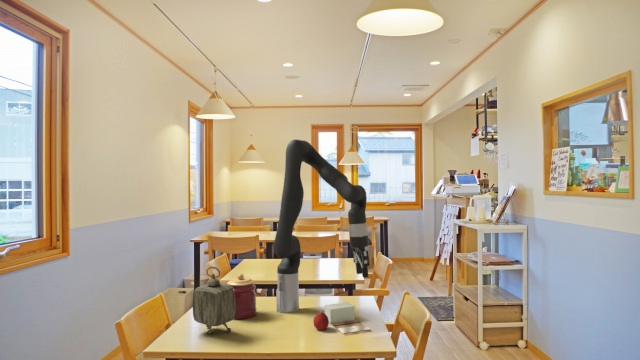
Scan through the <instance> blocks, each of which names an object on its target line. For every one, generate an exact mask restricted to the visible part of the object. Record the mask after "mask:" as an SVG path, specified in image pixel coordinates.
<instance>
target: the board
mask: <svg viewBox="0 0 640 360" xmlns="http://www.w3.org/2000/svg"><path fill="white" fill-rule="evenodd" d="M329 325H331V326H333V327H334V328H336V330H337V331H339V332H340V333H341V334H343V335H344V336H345V337H346V336H352V335H353V336H354V335H358V334H365V333H371V332H373V330H371V328H370V327H369V326H367V325H365V324H363V323H361V322H360V321H359V320H357V319H355V320H350V321H343V322H336V323H329Z"/></svg>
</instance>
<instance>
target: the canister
mask: <svg viewBox="0 0 640 360" xmlns="http://www.w3.org/2000/svg"><path fill="white" fill-rule="evenodd" d="M254 283H255V280H254V279H252V278H250V277H247V276H244V274H243V273H239V274H238V275H237V277H233V278H231V279H230V280H228V282H226V284H227V285H230V286H231V287H233V289H234V293H235V317H234V320H244V319H249V318H253V317H254V316H256V314H257V299H256V298H257V293H256V288H257V286H256V285H255V284H254Z"/></svg>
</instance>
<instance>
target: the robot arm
mask: <svg viewBox="0 0 640 360" xmlns="http://www.w3.org/2000/svg"><path fill="white" fill-rule="evenodd" d="M285 149H286V150H285V165H284V167H285V168H284V170H285V171H284V179H283V188H282V193H281V201H280V211H279V216H278V217H279V218H278V224H277V229H276V232H275V236H274V242H273V252H274V254H275V256H277V257H278V258H279V259H281V261H280V263H279V264H278V265H277V271H276V273H277V276H276V277H277V289H275V292H276V295H275V296H276V298H275V299H276V312H277V313H278V312H279V313H280V314H281V313H282V314H283V313H286V314H287V313H288V314H290V313H296V312H298V311H299V310H300V298H299V296H300V295H299V294H300V292H299V291H300V290H299V289H300V287H299V283H300V282H299V281H300V278H299V267H300V264H301V242H300V240H299V238H298V237H297V236H296V235H293V231H294V226H295V224H296V221H297V219H298V217H299V216H300V213H301V212H302V208H303V203H304V194H305V193H304V187H303V183H302V177H301V169H302V163H305V164H306V165H309V166H310V167H312V168H313V169H314V170H315V171H316V172H317V173H318V175H319V176H320V177H321V179H323V181H324V182H326V184H328V185H330V187H331V188H333V189H334V190H335V191H336V192H337V194H339V196H341V199H343V200H345V201H346V202H347V203H350V209H349V210H348V214H347V216H348V235H349V246H350V248H351V249H352V255H353V259H352V260H353V263H354V264H355V270H356V271H355V272H356V274H357V275H360V274H362V278H364V279H365V278H369V267H370V266H371V265H370V259H369V257H370V255H369V251H368V250H366V247H369V246H370V242H369V240H370V239H369V230H368V224H367V216H366V209H367V192H366V189H365V187H363V186H362V185H360V184H353V183H351V181H349V179H348V177H347V176H346V175H345V174H344V173H343V172H341V171H340V170H339V169H338V168H337V167H335V166H333V165H332V164H331V163H330V162H328V161H327V160H326V159H325V158H324V157H323V156H322V155H321V154H320V153H319V152H318V151H317V150H316V149H315V148H314V146H313V145H312V144H311V143H310V142H308V141H307V140H302V139H292V140H291V141H289V142H288V143H287V146H286V148H285Z"/></svg>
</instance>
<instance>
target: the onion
mask: <svg viewBox="0 0 640 360" xmlns="http://www.w3.org/2000/svg"><path fill="white" fill-rule="evenodd" d="M312 321H313V326H314V328H315V329H317V330H318V331H325V330H326V329H327V328H328V327H329V325H330V323H329V320H328V317H327V316H326V314H325V312H323V311H322V310H319V311H318V313H317V314H316V315H315V316H314V318H313V320H312Z"/></svg>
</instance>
